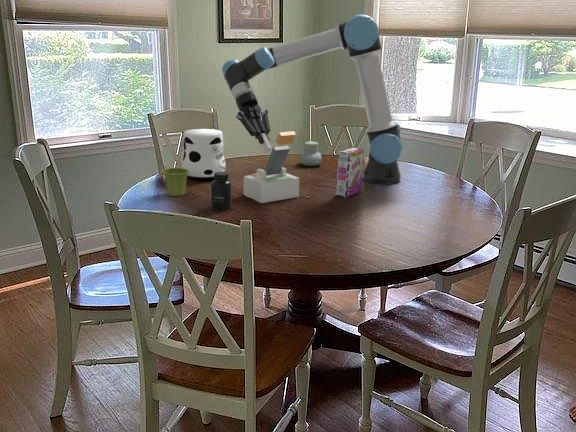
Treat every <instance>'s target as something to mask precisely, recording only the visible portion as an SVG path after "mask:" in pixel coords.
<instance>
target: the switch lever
mask: <svg viewBox="0 0 576 432" xmlns="http://www.w3.org/2000/svg"><path fill="white" fill-rule="evenodd" d="M296 136H297V133H296V132H295V131H294V130H292V131H291V130H290V131H283V132H281V131H279V132H278V134H277V136H276V139H275V143H276V145H278V146H273V147H272V149H271V152H270V155H269V158H268V160H267V163H266V166H265V168H264V170H265V171H266V175H273V174H280V171H281V169H282V167H283V166H284V164H285V162H286V159H287V157H288V155H289V154H290V153H289V152H290V150H291V148H290V146H289V145H291V144H293V143H294V141H295V138H296ZM288 144H289V145H288Z"/></svg>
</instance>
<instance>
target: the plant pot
mask: <svg viewBox="0 0 576 432" xmlns="http://www.w3.org/2000/svg"><path fill="white" fill-rule="evenodd" d="M188 173H189V170H188V169H185V168H182V167H169V168H165V169H162V174H163V177H164V180H165V186H166V190H167V195H168V196H170V197H171V196H172V197H177V196H179V197H182V196H184V195H186V187H187V179H188ZM181 195H182V196H181Z"/></svg>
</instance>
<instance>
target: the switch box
mask: <svg viewBox="0 0 576 432" xmlns="http://www.w3.org/2000/svg"><path fill="white" fill-rule="evenodd" d="M243 195H244V196H246V197H247V198H250V199H251V198H252V199H251V200H253V199H254V201H256V202H258V203H259V204H264V203H265V204H266V203H269V202H270V203H271V202H275V201H283V200H288V199H294V198H299V196H300V177H298V176H295V175H293V174H290V173H287V168H286V167H282V169H281V171H280V174H273V175H266V171H265V169H262V168H257V169H256V172H255V173H251V174H249V175H244V176H243Z"/></svg>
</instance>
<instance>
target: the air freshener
mask: <svg viewBox="0 0 576 432" xmlns="http://www.w3.org/2000/svg"><path fill="white" fill-rule="evenodd" d="M300 162H301V163H300V164H302V165H303V166H305V167H306V166H307V167H316V166H319V165H320V164H322V153H321V152H319V143H318V142H317V141H306V142H305V143H304V151H302V152H301V153H300Z"/></svg>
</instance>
